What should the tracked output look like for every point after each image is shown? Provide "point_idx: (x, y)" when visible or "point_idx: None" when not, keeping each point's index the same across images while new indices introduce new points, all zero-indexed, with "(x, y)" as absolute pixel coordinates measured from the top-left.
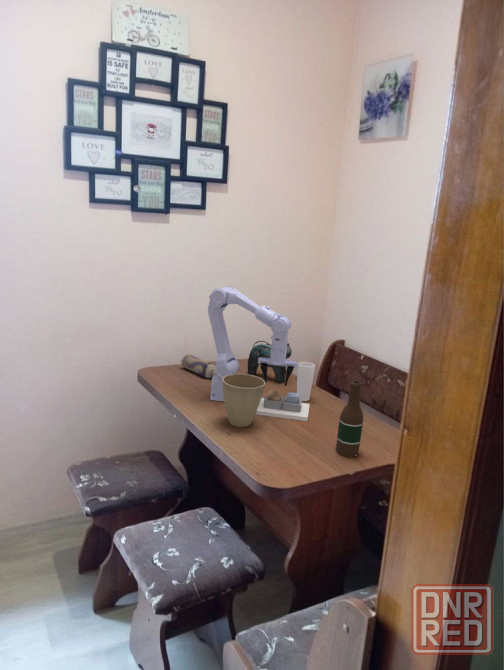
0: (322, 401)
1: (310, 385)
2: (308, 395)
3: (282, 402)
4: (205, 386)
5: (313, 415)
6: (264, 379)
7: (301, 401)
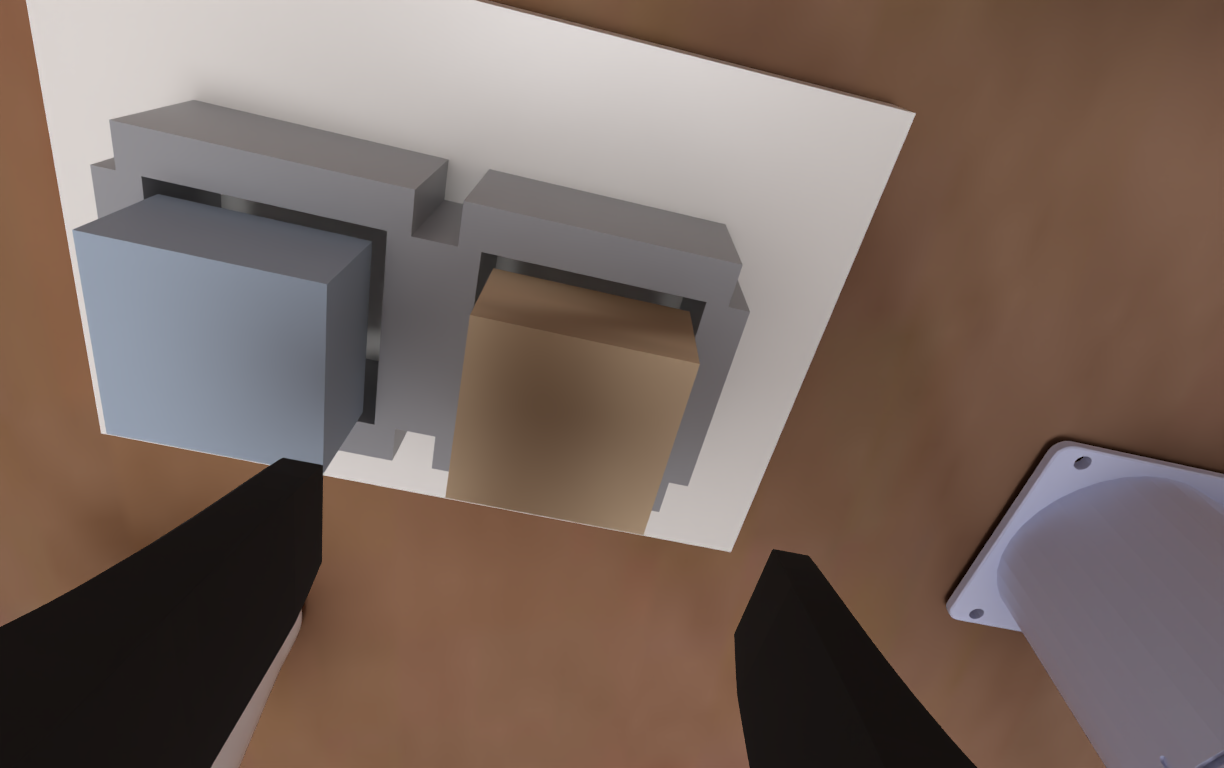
0: (24, 570)
1: None
2: None
3: (437, 239)
4: None
5: (24, 159)
6: (852, 621)
7: None
